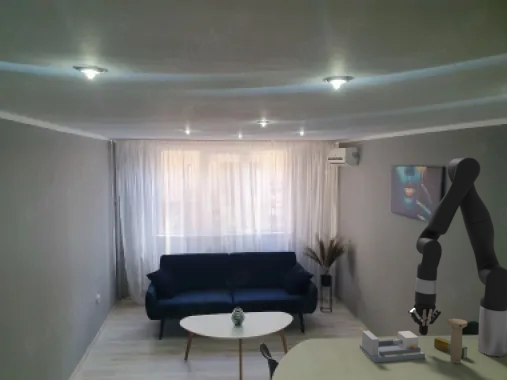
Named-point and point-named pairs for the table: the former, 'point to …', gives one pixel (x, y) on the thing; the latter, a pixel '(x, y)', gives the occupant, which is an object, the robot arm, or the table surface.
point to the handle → (456, 339)
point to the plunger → (406, 340)
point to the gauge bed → (387, 349)
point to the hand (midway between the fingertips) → (423, 334)
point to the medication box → (447, 346)
